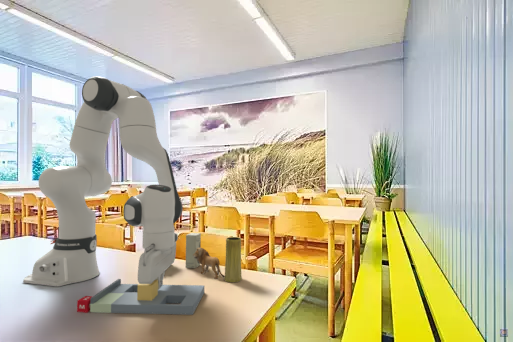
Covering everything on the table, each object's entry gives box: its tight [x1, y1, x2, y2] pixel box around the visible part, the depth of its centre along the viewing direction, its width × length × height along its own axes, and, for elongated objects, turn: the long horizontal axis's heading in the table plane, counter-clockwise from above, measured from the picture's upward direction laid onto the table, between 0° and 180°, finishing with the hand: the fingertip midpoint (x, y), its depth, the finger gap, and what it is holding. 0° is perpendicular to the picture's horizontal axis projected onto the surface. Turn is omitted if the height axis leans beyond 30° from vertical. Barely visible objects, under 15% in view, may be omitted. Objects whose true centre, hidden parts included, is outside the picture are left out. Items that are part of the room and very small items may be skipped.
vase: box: [223, 236, 243, 283], centre depth 99 cm, size 6×6×14 cm
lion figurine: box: [193, 247, 225, 280], centre depth 104 cm, size 15×5×9 cm, turn 56°
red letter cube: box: [76, 295, 94, 314], centre depth 75 cm, size 3×3×3 cm
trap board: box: [89, 278, 205, 316], centre depth 80 cm, size 27×14×4 cm, turn 88°
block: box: [137, 280, 158, 301], centre depth 78 cm, size 4×4×4 cm
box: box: [185, 232, 202, 269], centre depth 113 cm, size 5×4×13 cm
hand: (157, 288), depth 82 cm, fingers closed
